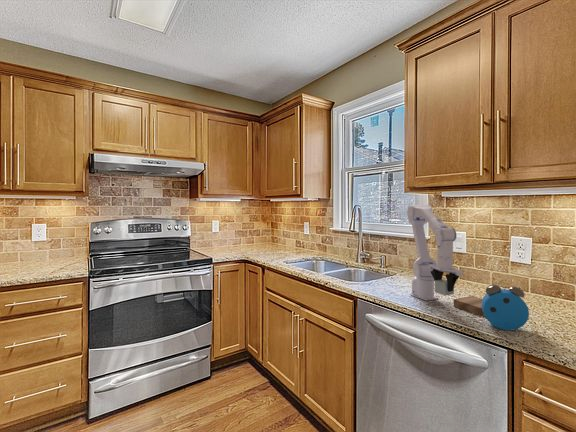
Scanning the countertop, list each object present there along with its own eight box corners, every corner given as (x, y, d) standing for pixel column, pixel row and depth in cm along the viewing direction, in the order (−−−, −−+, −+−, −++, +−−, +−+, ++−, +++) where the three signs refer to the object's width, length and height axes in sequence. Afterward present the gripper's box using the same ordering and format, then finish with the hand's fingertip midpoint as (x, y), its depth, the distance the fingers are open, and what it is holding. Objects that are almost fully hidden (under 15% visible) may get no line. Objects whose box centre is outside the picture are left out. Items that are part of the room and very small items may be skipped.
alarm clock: (523, 327, 110) (525, 285, 109) (529, 334, 104) (530, 290, 103) (480, 321, 115) (481, 281, 114) (483, 328, 110) (484, 286, 109)
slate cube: (434, 292, 130) (435, 280, 129) (443, 290, 132) (443, 279, 131) (445, 295, 125) (445, 283, 125) (453, 293, 127) (454, 281, 127)
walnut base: (453, 306, 132) (453, 299, 132) (472, 302, 137) (472, 295, 137) (481, 315, 121) (481, 308, 121) (500, 311, 126) (500, 304, 126)
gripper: (423, 254, 133) (423, 286, 133) (453, 260, 119) (453, 295, 120) (435, 253, 135) (435, 284, 136) (466, 259, 122) (465, 293, 123)
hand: (444, 289), depth 128 cm, fingers closed on slate cube, 5 cm apart
